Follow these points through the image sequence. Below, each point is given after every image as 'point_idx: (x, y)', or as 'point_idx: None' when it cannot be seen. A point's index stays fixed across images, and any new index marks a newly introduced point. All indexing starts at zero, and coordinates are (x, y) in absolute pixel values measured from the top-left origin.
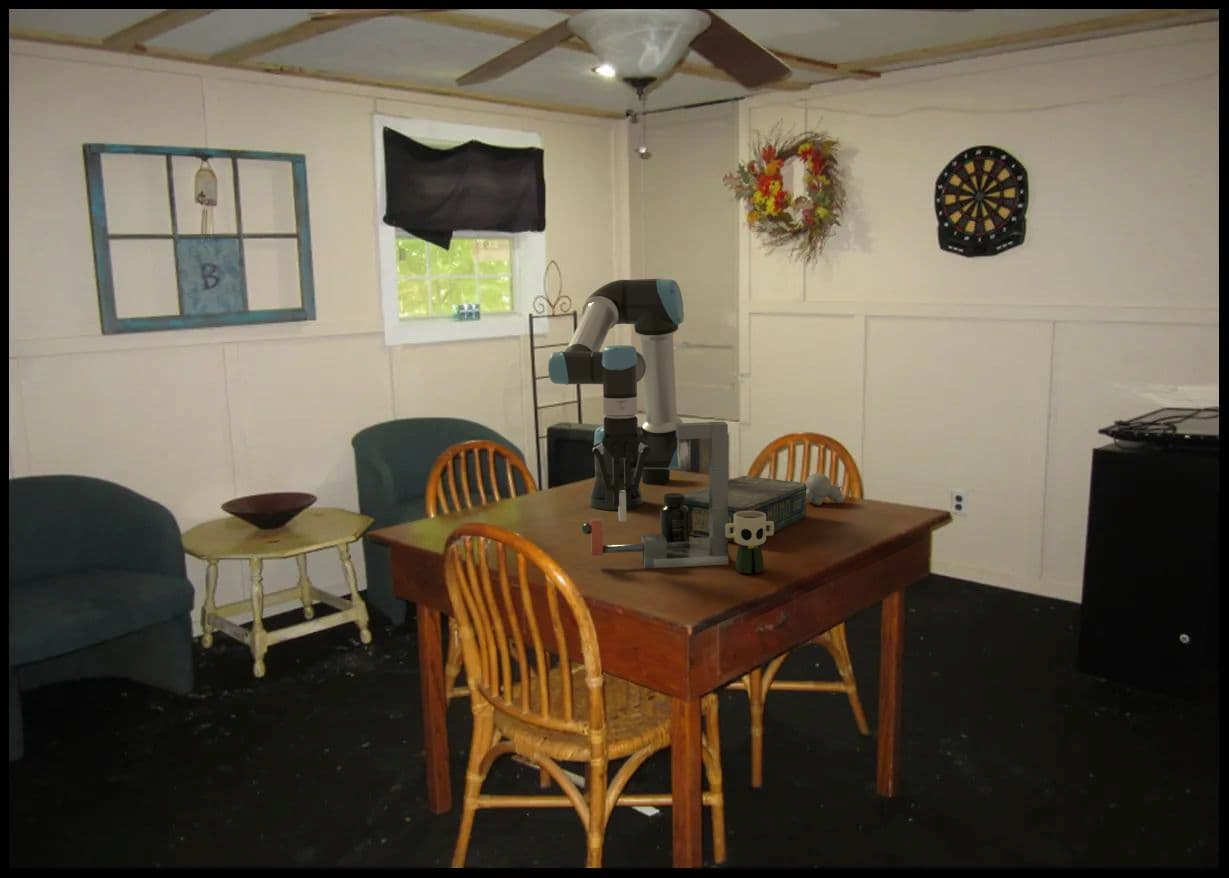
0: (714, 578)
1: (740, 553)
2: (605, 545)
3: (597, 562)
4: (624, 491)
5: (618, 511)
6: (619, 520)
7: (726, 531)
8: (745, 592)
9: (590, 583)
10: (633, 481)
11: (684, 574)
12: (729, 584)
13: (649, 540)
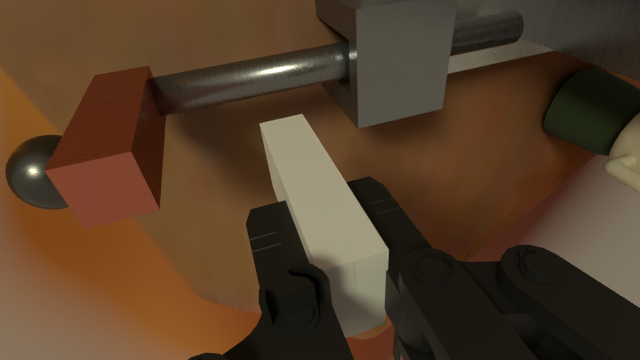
0: (477, 155)
1: (587, 145)
2: (172, 100)
3: (116, 3)
4: (379, 292)
5: (269, 150)
6: (270, 174)
7: (621, 181)
8: (495, 221)
9: (166, 230)
10: (543, 323)
11: (422, 132)
12: (489, 187)
13: (379, 110)
